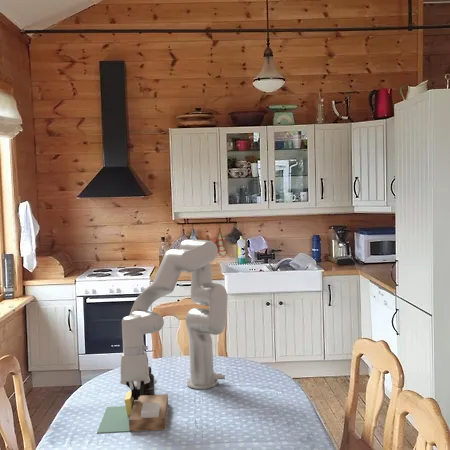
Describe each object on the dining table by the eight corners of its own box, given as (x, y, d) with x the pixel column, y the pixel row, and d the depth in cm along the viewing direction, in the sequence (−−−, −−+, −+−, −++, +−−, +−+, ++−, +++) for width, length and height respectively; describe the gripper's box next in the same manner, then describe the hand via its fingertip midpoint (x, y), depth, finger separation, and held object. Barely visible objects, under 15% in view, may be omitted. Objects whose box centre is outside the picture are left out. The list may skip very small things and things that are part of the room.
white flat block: (160, 408, 207) (160, 402, 207) (158, 417, 199) (158, 411, 199) (143, 408, 207) (143, 403, 207) (141, 418, 199) (140, 412, 199)
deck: (168, 404, 221) (167, 394, 220) (165, 429, 199) (164, 418, 199) (136, 406, 220) (135, 395, 220) (129, 431, 198) (128, 420, 198)
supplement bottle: (151, 401, 224) (150, 371, 223) (134, 400, 226) (133, 370, 225) (157, 394, 231) (156, 365, 230) (140, 394, 232) (139, 364, 231)
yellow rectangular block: (132, 390, 218) (127, 391, 218) (130, 398, 210) (124, 399, 210) (135, 406, 219) (129, 407, 219) (132, 414, 211) (127, 415, 211)
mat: (139, 406, 220) (139, 405, 220) (132, 431, 198) (132, 430, 198) (107, 407, 220) (106, 407, 220) (96, 433, 198) (96, 432, 198)
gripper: (155, 345, 217) (157, 394, 218) (114, 347, 216) (116, 396, 218) (153, 351, 209) (155, 401, 211) (111, 353, 209) (114, 403, 210)
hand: (136, 398), depth 214 cm, fingers closed
